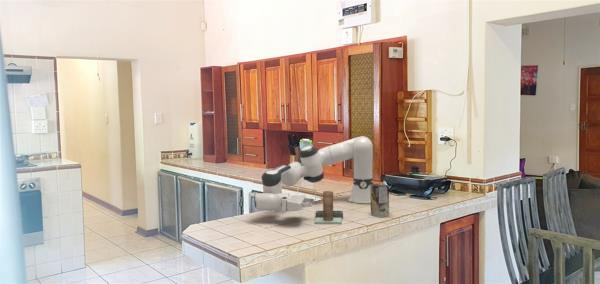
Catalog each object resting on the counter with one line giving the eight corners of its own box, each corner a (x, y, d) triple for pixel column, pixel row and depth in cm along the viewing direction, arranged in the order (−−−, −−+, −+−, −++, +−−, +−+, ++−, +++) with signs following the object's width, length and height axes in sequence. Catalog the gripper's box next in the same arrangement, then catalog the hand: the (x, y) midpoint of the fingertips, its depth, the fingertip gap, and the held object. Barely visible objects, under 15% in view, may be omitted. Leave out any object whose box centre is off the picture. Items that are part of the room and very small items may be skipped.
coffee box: (389, 216, 239) (389, 185, 237) (378, 217, 236) (378, 186, 235) (380, 212, 247) (380, 183, 246) (370, 214, 245) (369, 184, 244)
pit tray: (316, 216, 242) (316, 210, 242) (343, 216, 241) (343, 210, 240) (315, 218, 237) (315, 212, 237) (342, 218, 236) (342, 212, 235)
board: (316, 219, 235) (316, 217, 235) (341, 219, 234) (341, 217, 234) (314, 223, 226) (314, 221, 226) (341, 224, 225) (341, 222, 225)
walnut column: (323, 218, 233) (323, 191, 232) (333, 218, 232) (333, 191, 231) (322, 220, 228) (322, 192, 227) (332, 221, 227) (332, 193, 226)
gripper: (288, 203, 242) (315, 204, 240) (282, 213, 222) (310, 213, 220) (288, 191, 241) (314, 192, 240) (282, 200, 221) (310, 200, 219)
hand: (313, 202), depth 230 cm, fingers open, 8 cm apart
